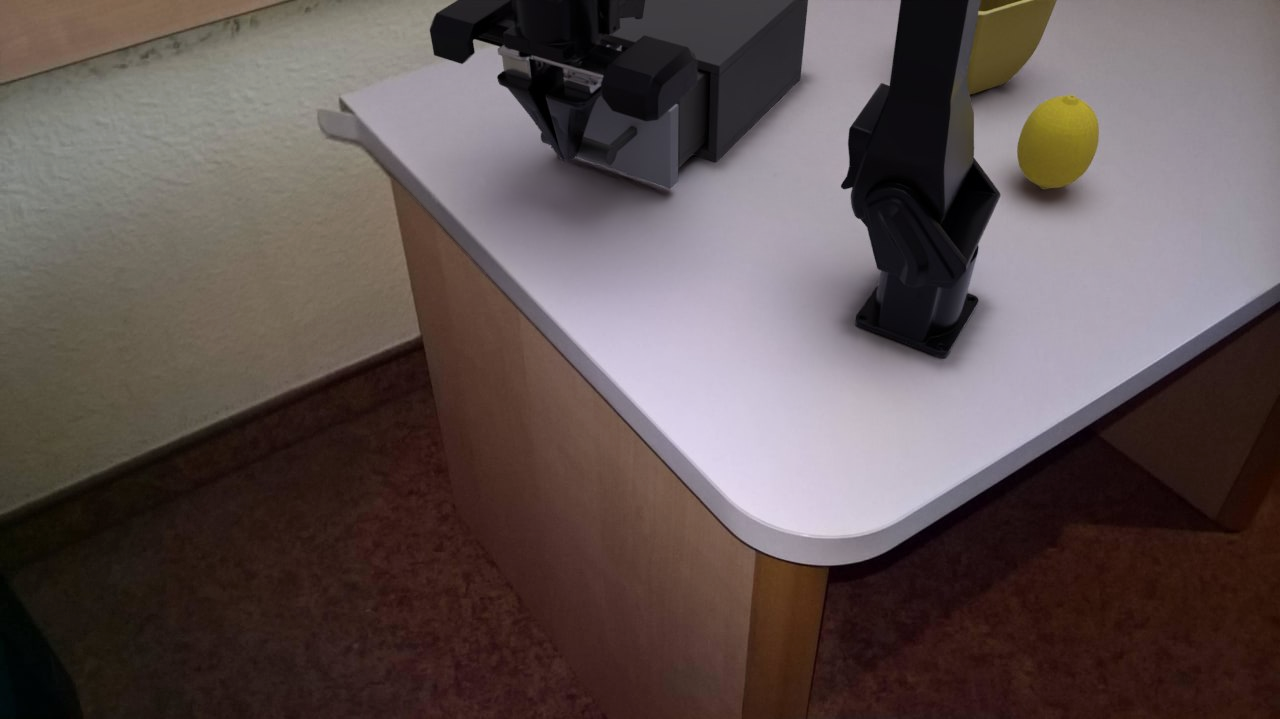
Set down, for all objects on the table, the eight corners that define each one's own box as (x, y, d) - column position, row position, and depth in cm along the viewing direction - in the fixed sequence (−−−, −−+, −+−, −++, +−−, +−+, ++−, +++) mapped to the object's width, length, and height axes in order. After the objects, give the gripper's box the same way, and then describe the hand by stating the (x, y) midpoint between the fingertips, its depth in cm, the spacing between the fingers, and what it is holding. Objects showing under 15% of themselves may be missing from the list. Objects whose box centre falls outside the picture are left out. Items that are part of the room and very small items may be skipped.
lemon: (995, 193, 80) (1020, 101, 74) (1023, 160, 83) (1049, 69, 77) (1065, 217, 77) (1096, 124, 72) (1091, 183, 80) (1123, 91, 75)
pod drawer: (639, 219, 77) (637, 141, 72) (517, 175, 81) (507, 98, 76) (757, 104, 88) (762, 30, 83) (645, 71, 92) (643, -2, 88)
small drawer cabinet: (716, 162, 83) (719, 65, 77) (588, 120, 88) (582, 26, 82) (800, 78, 93) (809, -14, 87) (680, 45, 98) (681, -45, 92)
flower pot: (894, 70, 93) (910, -27, 87) (970, 47, 96) (991, -49, 90) (958, 114, 88) (980, 14, 81) (1036, 88, 90) (1063, -10, 84)
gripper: (742, -69, 66) (732, 141, 77) (510, -120, 73) (531, 78, 84) (651, -2, 59) (654, 218, 70) (406, -64, 67) (444, 143, 78)
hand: (568, 158), depth 76 cm, fingers closed, pressing on pod drawer
